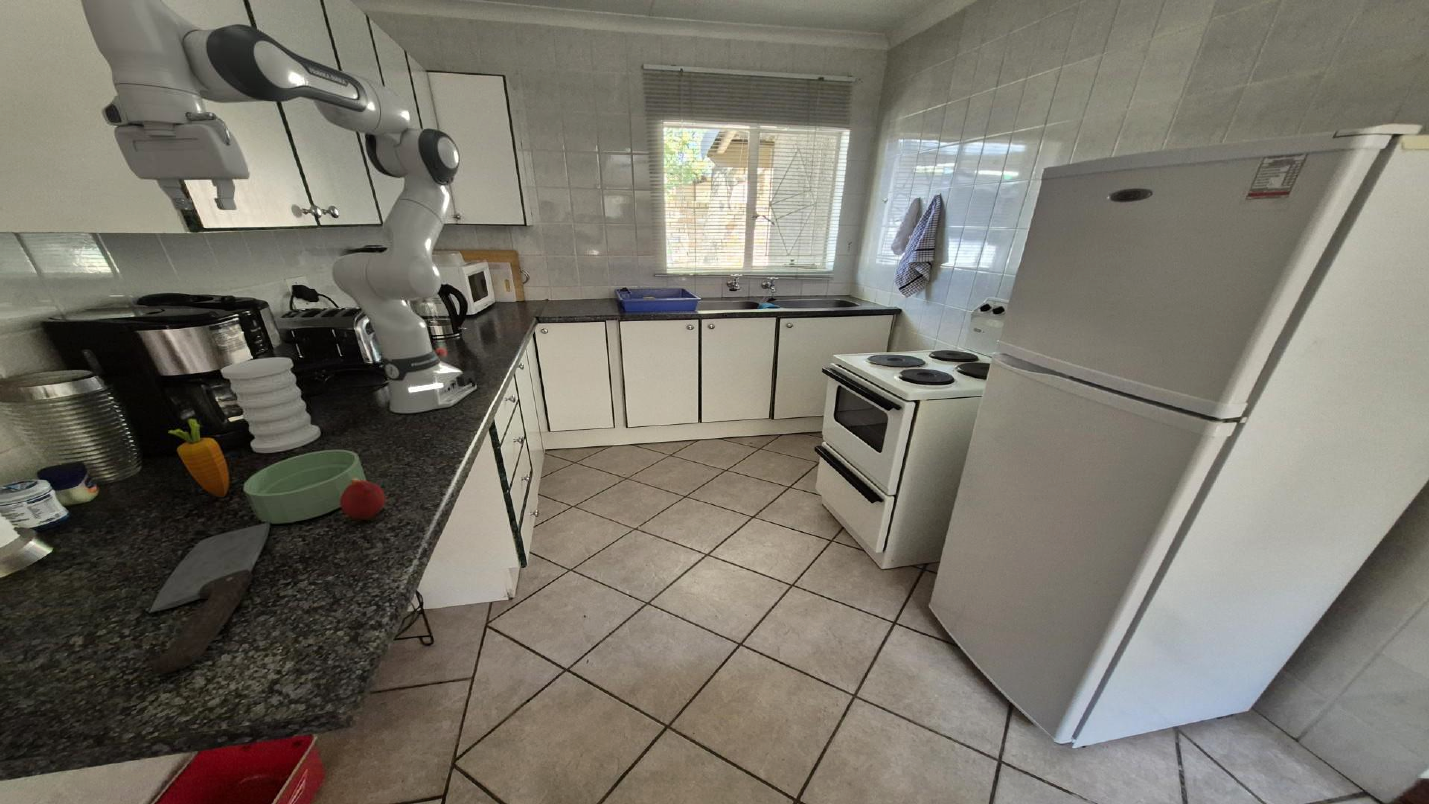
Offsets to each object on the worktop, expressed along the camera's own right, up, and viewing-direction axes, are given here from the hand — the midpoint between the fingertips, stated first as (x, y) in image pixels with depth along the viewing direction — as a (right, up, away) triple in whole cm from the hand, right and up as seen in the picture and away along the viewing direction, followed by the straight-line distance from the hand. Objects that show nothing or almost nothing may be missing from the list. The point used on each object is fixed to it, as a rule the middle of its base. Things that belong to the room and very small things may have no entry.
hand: (206, 209), depth 75 cm
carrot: (-3, -50, +5) cm, 50 cm away
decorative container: (-11, -41, +26) cm, 50 cm away
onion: (+28, -52, 0) cm, 59 cm away
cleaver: (+17, -58, -15) cm, 63 cm away
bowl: (+14, -50, +5) cm, 52 cm away
